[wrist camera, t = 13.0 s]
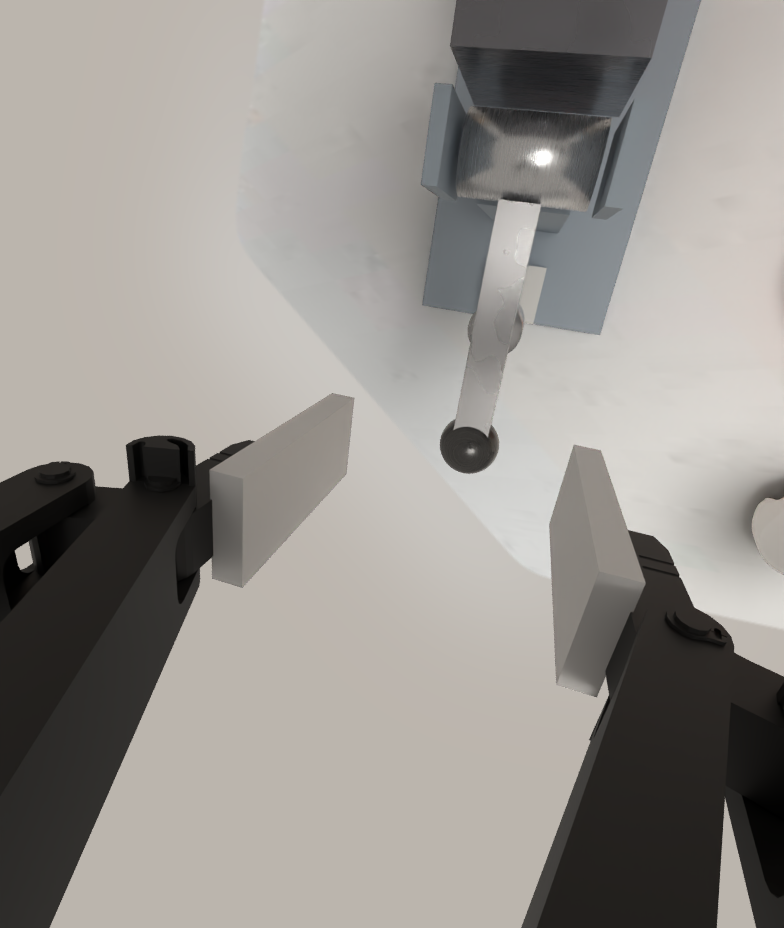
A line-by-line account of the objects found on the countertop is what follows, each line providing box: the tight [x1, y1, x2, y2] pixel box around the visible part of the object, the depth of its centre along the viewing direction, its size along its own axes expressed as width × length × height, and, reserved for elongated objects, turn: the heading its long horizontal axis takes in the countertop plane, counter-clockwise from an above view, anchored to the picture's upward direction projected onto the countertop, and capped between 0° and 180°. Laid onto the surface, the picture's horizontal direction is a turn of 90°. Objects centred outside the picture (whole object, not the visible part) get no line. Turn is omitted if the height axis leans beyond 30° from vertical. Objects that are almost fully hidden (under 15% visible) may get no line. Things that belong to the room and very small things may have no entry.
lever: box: [440, 0, 668, 474], centre depth 21 cm, size 18×6×9 cm, turn 172°
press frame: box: [421, 0, 701, 335], centre depth 23 cm, size 23×13×20 cm, turn 172°
